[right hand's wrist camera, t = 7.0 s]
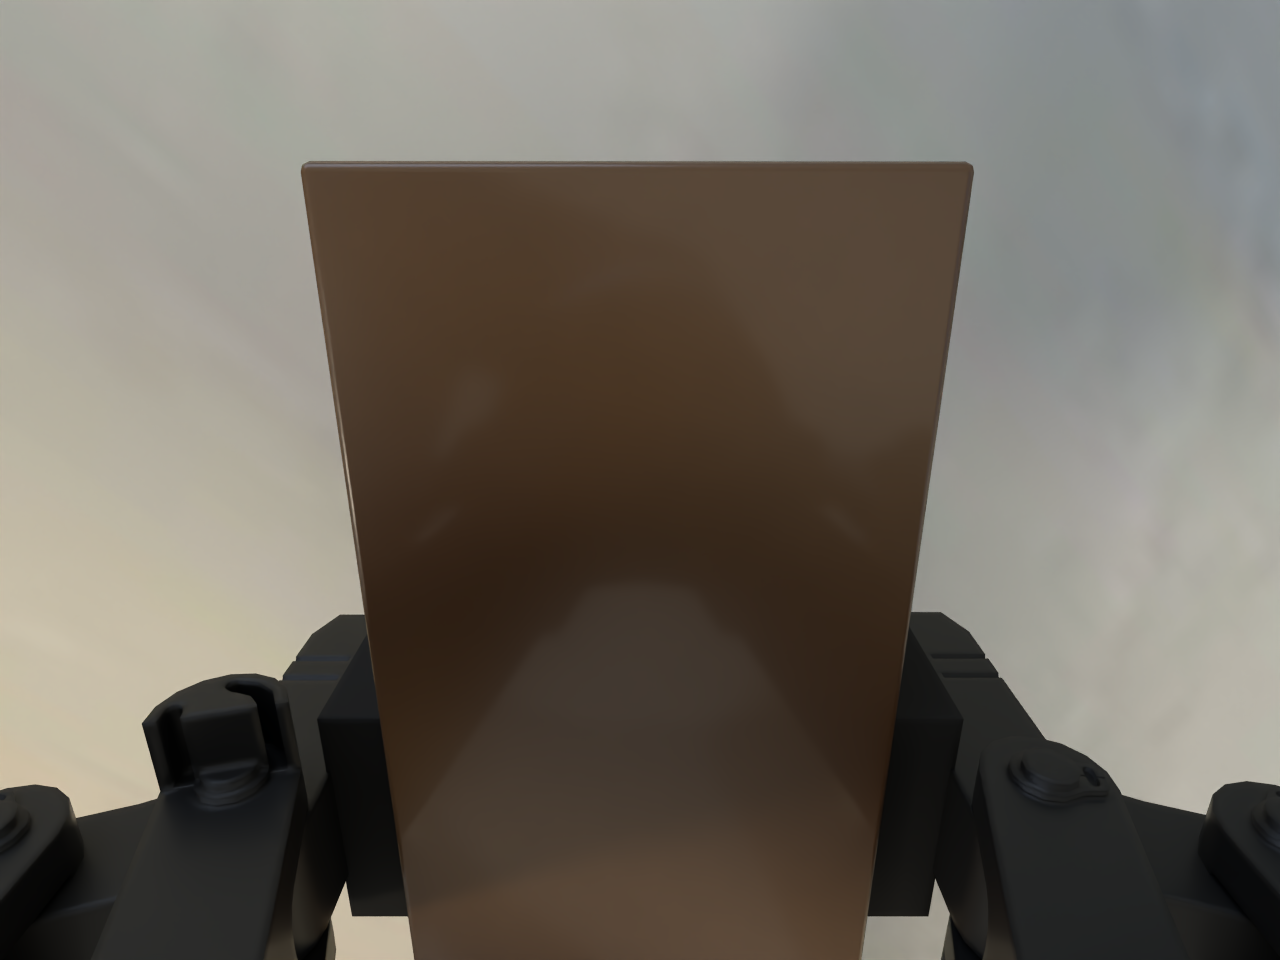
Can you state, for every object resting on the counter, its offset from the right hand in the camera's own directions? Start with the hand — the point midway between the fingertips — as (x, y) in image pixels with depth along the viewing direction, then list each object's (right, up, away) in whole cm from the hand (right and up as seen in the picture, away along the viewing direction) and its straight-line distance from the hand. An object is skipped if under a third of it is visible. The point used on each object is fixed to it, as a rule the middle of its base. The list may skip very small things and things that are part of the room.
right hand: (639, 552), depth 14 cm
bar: (0, -22, +9) cm, 24 cm away
